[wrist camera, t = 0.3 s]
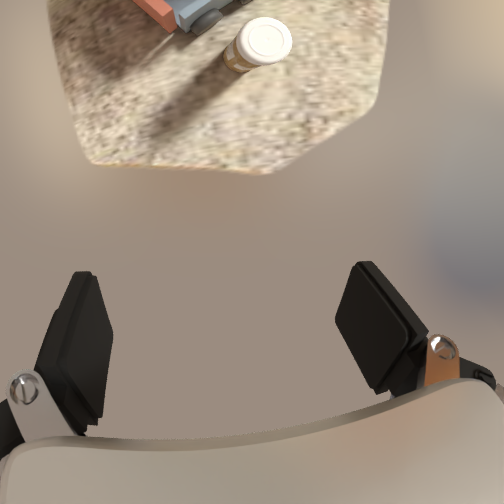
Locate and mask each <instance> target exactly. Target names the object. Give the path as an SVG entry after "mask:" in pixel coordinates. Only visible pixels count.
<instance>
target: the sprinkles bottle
mask: <svg viewBox="0 0 504 504" xmlns="http://www.w3.org/2000/svg"><path fill="white" fill-rule="evenodd" d="M291 47H292V37H291V34H290V32H289V30H288V28H287V27H286V26H285V25H284V24H283V23H281V22H280V21H278V20H275V19H273V18H268V17H261V18H256V19H253V20H251V21H249V22H248V23H246V24H245V25H244V26H243V27H242V28H241V29H240V31H239V33H238V35H237V36H236V37H235V38H234V40H233V41H232V42H231V43H230V44H229V45H228V46H227V48H226V49H225V51H224V55H223V57H224V62H225V64H226V65H227V67H228V68H230V69H231V70H233V71H236V72H247V71H250V70H251V69H254V68H257V67H259V66H265V65H271V64H274V63H277V62H279V61H281V60H283V59H284V58H285V57H286V56H287V55H288V54H289V52H290V50H291Z"/></svg>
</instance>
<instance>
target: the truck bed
mask: <svg viewBox="0 0 504 504" xmlns="http://www.w3.org/2000/svg"><path fill="white" fill-rule="evenodd" d="M164 1H165V2H166V3H167V4H168V5H169V6H170V7H172V8H173V11H174V15H175V19H176V24H177V25H178V26H179V27H180V28H181V29H182V30H183V31H184V32H185V33H188V32H189V31H190V30H192V31H193V32H194V33H195V34H196V35H197V36H198V35H200V34H202V33H204V32H205V31H207V30H208V29H210V28H211V27H212V26H214V25H215V24H216V23H217V22H218V21H220V20H221V19H222V18H223V15H222V14H221V13H220V12H219V11H218V10H220V9H221V8H223V7H224V6H226V5H227V4H229V3H231V2H232V1H234V0H164ZM239 1H240V2H241V3H242V4H243V5H244V4H246V3H248V2H250V1H252V0H239Z"/></svg>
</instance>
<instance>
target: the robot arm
mask: <svg viewBox="0 0 504 504" xmlns="http://www.w3.org/2000/svg"><path fill="white" fill-rule="evenodd" d="M335 323H336V325H337V327H338V329H339V331H340V333H341V334H342V336H343V338H344V340H345V342H346V344H347V346H348V347H349V349H350V351H351V353H352V355H353V357H354V359H355V361H356V362H357V364H358V366H359V368H360V370H361V372H362V374H363V376H364V378H365V379H366V382H367V383H368V385H369V387H370V388H372V389H374V391H375V393H376V395H378V394H381V393H383V392H386V391H388V390H390V392H391V396H390V400H387V401H385V402H382V403H379V404H376V405H373V406H370V407H367V408H363V409H360V410H357V411H353V412H350V413H346V414H343V415H339V416H335V417H332V418H328V419H324V420H320V421H315V422H311V423H307V424H302V425H298V426H293V427H287V428H282V429H276V430H270V431H264V432H257V433H250V434H242V435H234V436H224V437H212V438H198V439H171V440H170V439H169V440H168V439H167V440H158V439H154V440H153V439H118V438H104V437H88V436H87V434H86V433H85V432H86V431H87V425H96V426H97V425H98V418H102V416H103V408H104V398H105V389H106V382H107V374H108V367H109V361H110V354H111V349H112V343H113V330H112V327H111V324H110V321H109V318H108V315H107V311H106V308H105V305H104V301H103V298H102V294H101V291H100V287H99V284H98V280H97V277H96V276H92V273H91V272H89V271H84V272H83V271H82V272H75V273H74V274H73V276H72V279H71V281H70V283H69V285H68V287H67V289H66V292H65V294H64V296H63V299H62V301H61V303H60V306H59V308H58V309H57V310H56V311H55V312H54V314H53V317H52V319H51V322H50V324H49V327H48V329H47V332H46V335H45V338H44V340H43V343H42V346H41V349H40V352H39V355H38V358H37V361H36V364H35V367H34V370H29V369H28V370H27V369H26V370H21V371H19V372H17V373H15V374H14V375H13V376H12V377H11V378H10V380H9V382H8V384H7V387H6V396H7V399H5V400H4V401H2V402H1V403H0V504H504V387H502V386H501V385H500V384H497V385H496V380H495V378H494V376H493V374H492V372H491V371H490V370H488V369H487V368H485V367H483V366H480V365H478V364H475V363H473V362H471V361H468V360H466V359H463V358H461V357H459V351H458V348H457V346H456V344H455V343H454V342H453V341H452V340H451V339H450V338H448V337H446V336H444V335H440V334H434V335H432V336H431V337H430V338H429V339H428V338H427V337H426V335H427V334H428V332H429V331H428V329H427V328H426V327H425V325H424V324H423V323H422V322H421V320H420V319H419V318H418V316H417V315H416V314H415V313H414V311H413V310H412V309H411V307H410V306H409V305H408V304H407V302H406V301H405V300H404V299H403V297H402V296H401V295H400V294H399V293H398V291H397V290H396V289H395V288H394V287H393V285H392V284H391V283H390V282H389V280H388V279H387V278H386V277H385V276H384V274H383V273H382V272H381V271H380V270H379V269H378V268H377V266H376V265H375V264H374V263H373V262H372V261H360V262H357V263H356V264H355V266H353V267H352V269H351V272H350V276H349V278H348V281H347V285H346V288H345V291H344V293H343V296H342V299H341V302H340V305H339V307H338V310H337V313H336V316H335Z"/></svg>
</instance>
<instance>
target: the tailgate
mask: <svg viewBox="0 0 504 504" xmlns="http://www.w3.org/2000/svg"><path fill="white" fill-rule="evenodd" d="M132 1H133V2H135V3H136V4H137V5H138V6H139V7H141V8H142V9H143V10H144V11H145V12H146V13H148V14H149V15H150V16H151V17H152V18H153V19H154V20H155V21H157V22H158V23H159V24H160V25H161V26H162V27H163V28H164V29H165V30H166V31H168V32H169V33H171V32H172V31H174V30H175V29H176V28H177V24H176V19H175V15H174V11H173V8H172V7H170V6H169V5H168V4H167V3H166V2H165V1H164V0H132Z"/></svg>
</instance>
